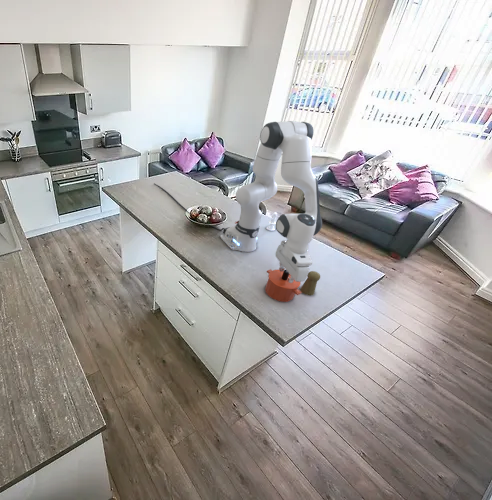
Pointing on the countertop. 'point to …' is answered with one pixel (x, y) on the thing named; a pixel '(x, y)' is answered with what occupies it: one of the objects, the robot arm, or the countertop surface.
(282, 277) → the pot lid
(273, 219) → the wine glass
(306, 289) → the cork
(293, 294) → the pot
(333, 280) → the countertop surface
